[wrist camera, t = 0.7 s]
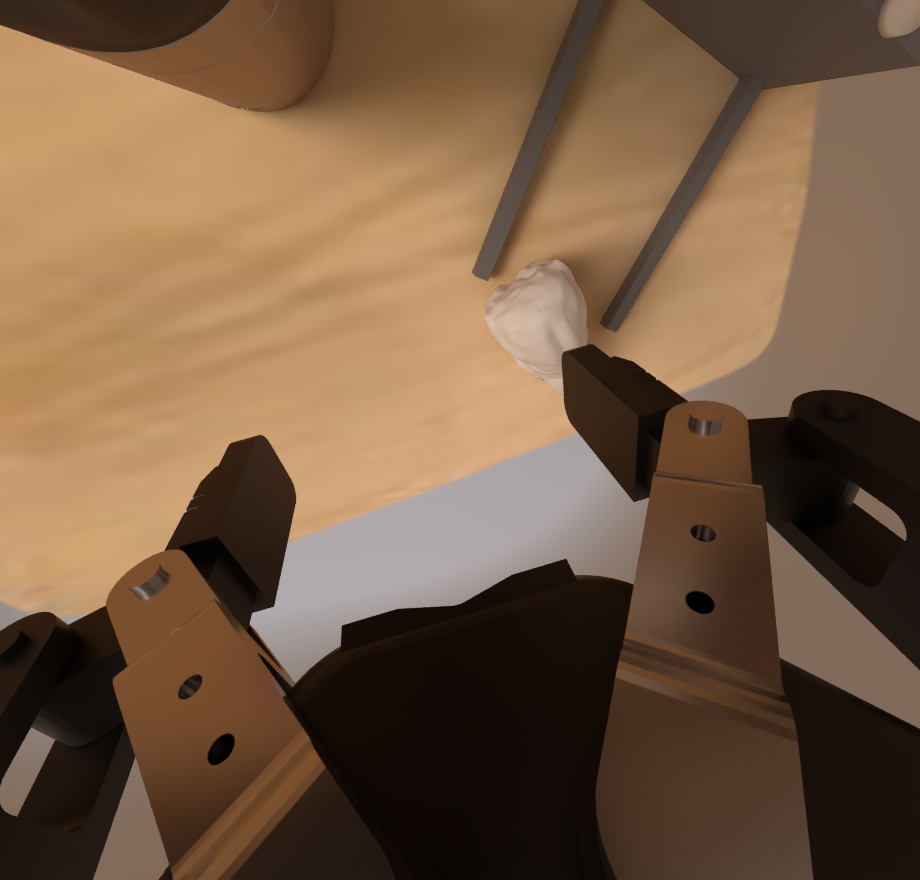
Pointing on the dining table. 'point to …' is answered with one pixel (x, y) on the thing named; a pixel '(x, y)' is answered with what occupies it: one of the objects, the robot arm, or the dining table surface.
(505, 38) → the dining table surface
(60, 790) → the robot arm
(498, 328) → the cream figurine
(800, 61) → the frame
